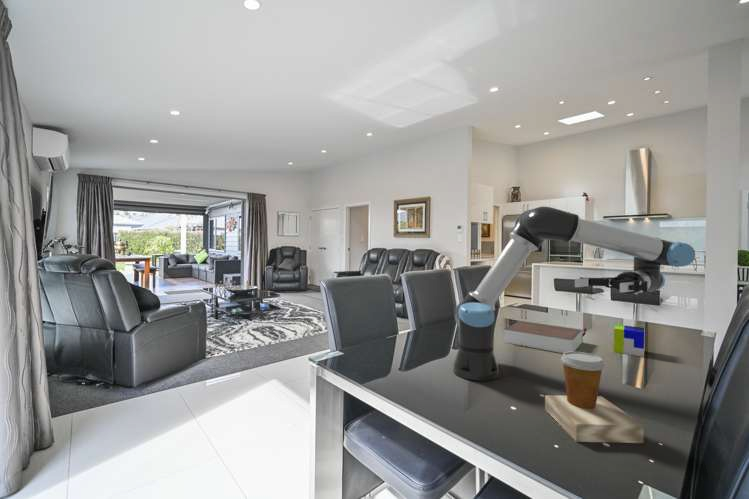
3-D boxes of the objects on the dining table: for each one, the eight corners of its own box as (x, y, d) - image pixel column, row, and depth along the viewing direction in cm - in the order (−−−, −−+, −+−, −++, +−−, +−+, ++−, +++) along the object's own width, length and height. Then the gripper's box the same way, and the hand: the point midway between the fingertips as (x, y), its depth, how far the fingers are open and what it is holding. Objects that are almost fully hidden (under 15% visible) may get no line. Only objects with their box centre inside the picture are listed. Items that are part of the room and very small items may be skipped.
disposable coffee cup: (594, 397, 93) (594, 352, 93) (610, 413, 83) (611, 364, 83) (555, 393, 95) (556, 349, 94) (567, 409, 85) (568, 360, 85)
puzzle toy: (643, 357, 140) (644, 332, 140) (613, 352, 146) (614, 328, 146) (643, 351, 148) (644, 327, 148) (614, 346, 154) (615, 324, 154)
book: (519, 333, 177) (519, 320, 177) (582, 343, 160) (582, 329, 160) (502, 343, 159) (502, 329, 159) (572, 356, 141) (572, 340, 141)
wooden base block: (576, 441, 78) (576, 424, 78) (544, 410, 93) (545, 395, 93) (643, 443, 78) (643, 425, 78) (601, 411, 93) (601, 396, 93)
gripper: (676, 298, 109) (642, 303, 99) (594, 289, 131) (559, 292, 120) (677, 274, 109) (643, 276, 98) (594, 269, 130) (559, 270, 120)
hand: (597, 285), depth 109 cm, fingers open, 13 cm apart
